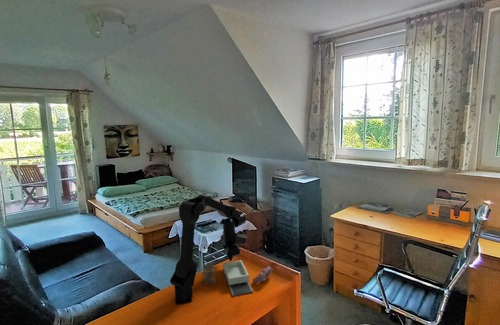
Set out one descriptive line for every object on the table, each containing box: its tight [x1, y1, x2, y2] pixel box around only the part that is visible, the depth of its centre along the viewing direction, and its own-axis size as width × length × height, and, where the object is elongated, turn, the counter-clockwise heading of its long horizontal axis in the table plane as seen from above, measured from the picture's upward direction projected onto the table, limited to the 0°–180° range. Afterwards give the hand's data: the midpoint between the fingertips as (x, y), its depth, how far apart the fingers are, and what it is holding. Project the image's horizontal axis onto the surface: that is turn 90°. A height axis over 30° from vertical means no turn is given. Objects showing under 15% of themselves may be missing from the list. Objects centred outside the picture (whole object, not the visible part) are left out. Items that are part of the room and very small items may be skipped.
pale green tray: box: [222, 259, 250, 285], centre depth 134 cm, size 9×14×4 cm, turn 15°
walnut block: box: [202, 265, 216, 286], centre depth 132 cm, size 4×4×6 cm
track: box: [223, 271, 254, 298], centre depth 132 cm, size 9×20×1 cm, turn 15°
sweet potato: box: [252, 265, 274, 284], centre depth 132 cm, size 10×5×7 cm, turn 145°
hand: (230, 260), depth 145 cm, fingers closed
